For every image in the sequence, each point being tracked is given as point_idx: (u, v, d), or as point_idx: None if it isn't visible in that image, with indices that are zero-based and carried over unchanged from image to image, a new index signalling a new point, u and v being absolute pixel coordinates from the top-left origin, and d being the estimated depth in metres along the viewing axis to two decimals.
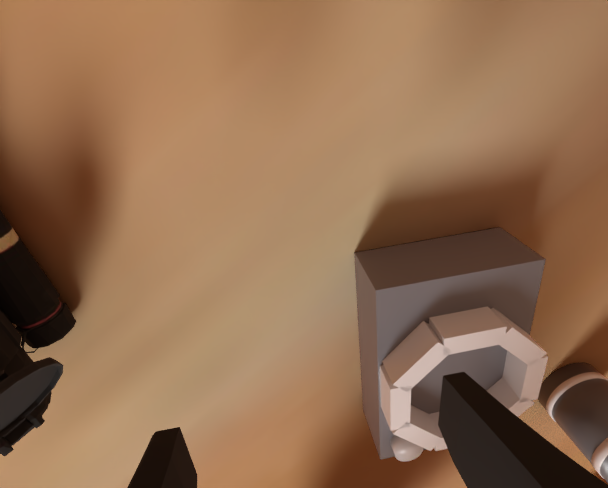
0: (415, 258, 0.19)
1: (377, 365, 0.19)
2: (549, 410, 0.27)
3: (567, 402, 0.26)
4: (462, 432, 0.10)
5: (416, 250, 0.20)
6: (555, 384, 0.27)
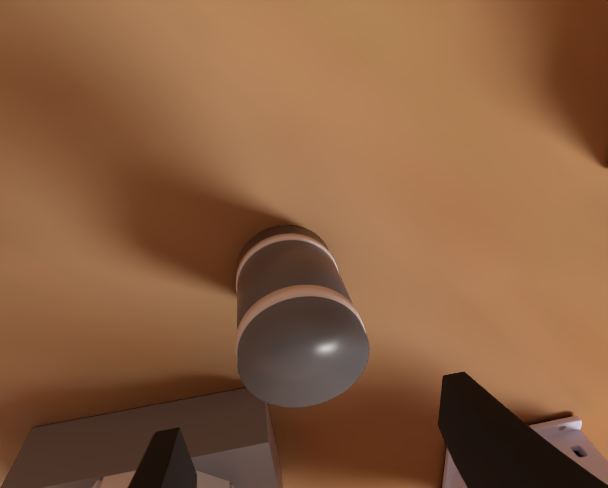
0: None
1: None
2: None
3: None
4: (462, 432, 0.10)
5: None
6: None
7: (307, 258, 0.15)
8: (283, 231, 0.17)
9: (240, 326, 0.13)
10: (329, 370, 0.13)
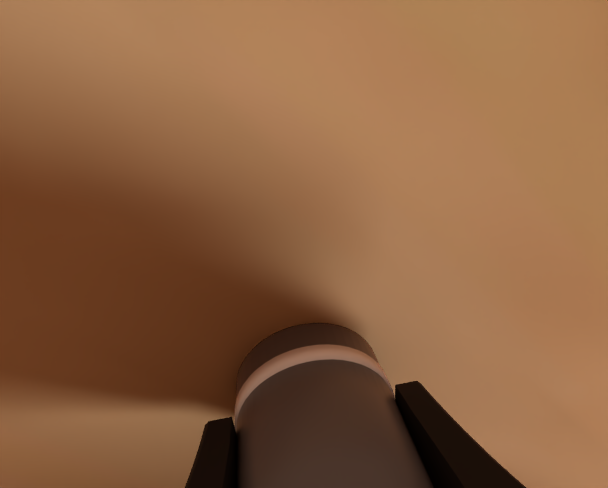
0: None
1: None
2: None
3: None
4: None
5: None
6: None
7: (355, 408, 0.09)
8: (308, 337, 0.11)
9: None
10: None
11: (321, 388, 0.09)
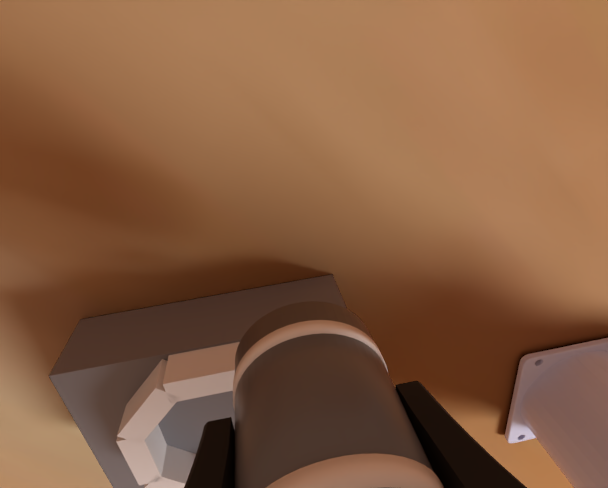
0: None
1: None
2: None
3: None
4: None
5: None
6: None
7: (357, 377, 0.09)
8: (310, 313, 0.11)
9: None
10: None
11: (323, 358, 0.09)
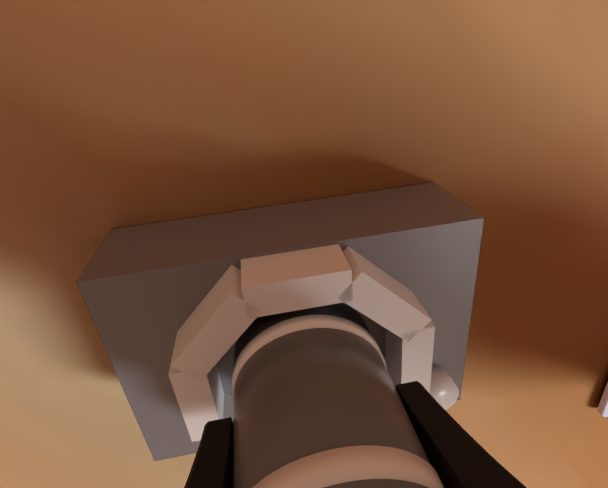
0: None
1: None
2: None
3: None
4: None
5: None
6: None
7: (359, 372, 0.09)
8: None
9: None
10: None
11: (326, 352, 0.09)
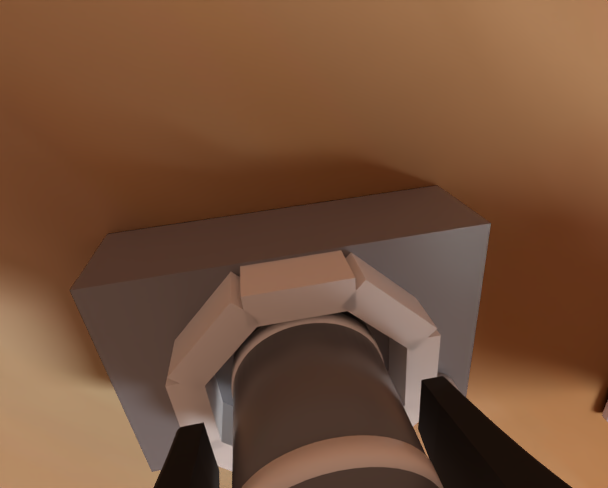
0: None
1: None
2: None
3: None
4: (439, 437, 0.10)
5: None
6: None
7: (356, 365, 0.09)
8: None
9: None
10: None
11: (324, 346, 0.10)
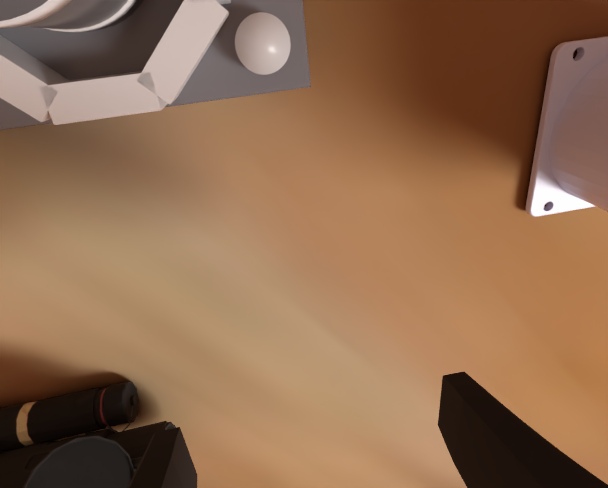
0: None
1: None
2: (85, 30, 0.10)
3: None
4: (462, 432, 0.10)
5: None
6: None
7: None
8: None
9: None
10: None
11: None
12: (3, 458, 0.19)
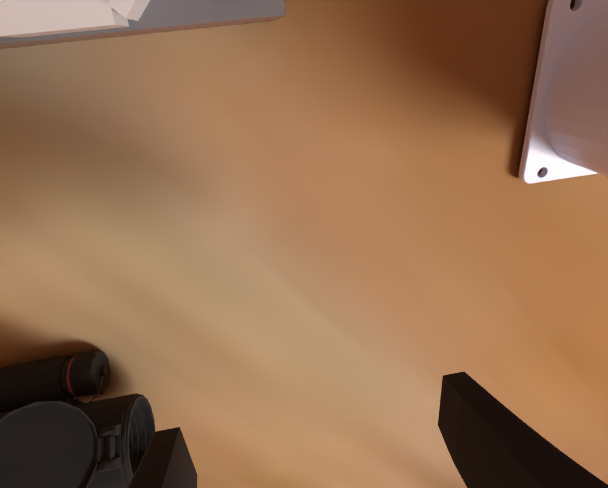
0: None
1: (27, 40, 0.11)
2: None
3: None
4: (462, 432, 0.10)
5: None
6: None
7: None
8: None
9: None
10: None
11: None
12: None
